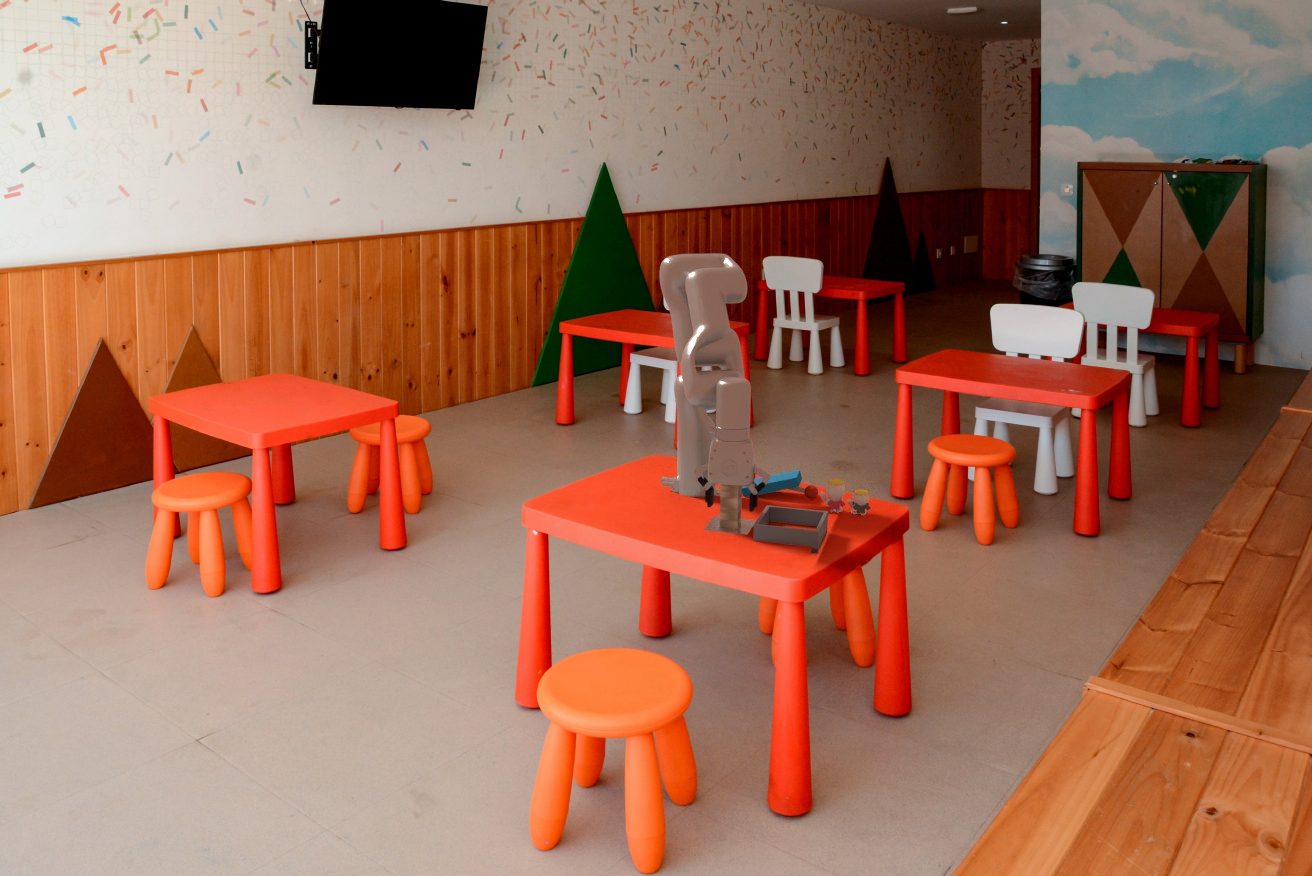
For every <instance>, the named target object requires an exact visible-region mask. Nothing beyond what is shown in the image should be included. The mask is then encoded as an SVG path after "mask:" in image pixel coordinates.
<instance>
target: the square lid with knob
mask: <svg viewBox="0 0 1312 876" xmlns="http://www.w3.org/2000/svg"><path fill="white" fill-rule="evenodd" d="M756 521H757V519H747V518H741V524H740V525H739V527H738V528H737V529H735V528H725V527H720V515H714V516H713V517H712V518H711V520H709V522H708V523H707V524H706V525H705V526H704V528H703V531H709V532H718V533H726V534H737V535H743V536H744V535H746V536H747V535H749V533H750V532H751V530H752V529H753V528H754V524H755V522H756Z"/></svg>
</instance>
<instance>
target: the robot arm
mask: <svg viewBox="0 0 1312 876" xmlns="http://www.w3.org/2000/svg"><path fill="white" fill-rule="evenodd" d="M659 284H660V285H659V286H660V289H661V292H662V296H663V298H664V301H665V303H666V305H667V307H668V310H669V315H670V319H671V325H672V333H673V342H674V349H675V355H676V359H677V361H678V363H679V365H680V375H678V376H677V377H676V378H675V381H674V385H673V393H674V400H675V408H676V419H677V421H676V422H677V442H676V443H677V444H676V445H677V448H676V449H677V450H676V451H677V452H676V453H677V454H676V456H677V459H676V461H677V463H676V464H677V465H676V468H677V469H676V476H673V477H669V476H661V478H660V484H661V485H662V487H667V488H671V492H673V493H676V494H677V493H678V494H679V495H681V496H684V497H693V498H700V497H701V498H702V497H704V500H705V501H704V502H705V503H707V504H706V505H707V508H711V507H713V506H714V504H715V503H714V502H715V496H718V497H720V488H717V487H716V485H717V486H718V485H719V486H721V485H727V486H739V487H748V488H749V490H750V491H751V494H750V496H749V502H748V503H749V504H748V505H749V506H748V507H749V509H748V510H749V512H751V513H752V512H754V510H755V509H756V508H758V504H759V502H758V501H759V495H758V492H759V491H761V490H762V489H763V488H764V487H765V486H766V484H767V482H768V481H769V479H770V477H771V474H770V473H768V472H767V471H766V470H763V469H762V468H760V467H759V466H757V465H756V456H755V448H754V442H753V440H752V438H750V436H751V400H752V399H751V398H752V386H751V382H750V380H748V379H746V378H745V369H744V362H743V356H742V348H741V343H740V339H739V335H738V333H737V332H736V331H735V330H734V329H732V328H731V325H730V319H729V315H728V309H727V304H739V303H742V302H744V300H746V297H747V294H748V281H747V279H746V276H745V273H744V271H743V269H742V268H741V267H740V265H739V264H738V263H736V262H735V260H734V259H732V257H731V256H729V255H728V254H727V253H680V254H673V255H669V256H667V257H665V258H664V259H663V260H662V261H661V264H660V266H659ZM696 367H699V368H700V367H701V368H702V367H703V368H704V367H719V368H720V369H715V370H713V369H712V370H697V368H696ZM713 410H715V421H713V419H712V418H711V417H710V416H709V415H708V413H707V411H713ZM756 475H757V476H758V477H759V478H761V477H762V481H761V483H760V484H758V485H757V484H756V482H755V481H754V480H755V479H756Z"/></svg>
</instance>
